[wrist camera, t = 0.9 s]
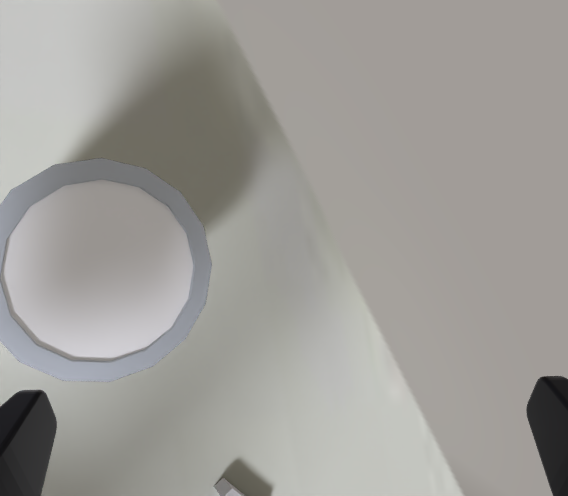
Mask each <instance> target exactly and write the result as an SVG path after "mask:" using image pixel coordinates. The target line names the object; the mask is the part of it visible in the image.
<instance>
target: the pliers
mask: <svg viewBox="0 0 568 496" xmlns="http://www.w3.org/2000/svg"><path fill="white" fill-rule="evenodd" d="M214 488H215V489H216V490H217V492H218V493H219V494H220V496H245V495H244V494H243V493H242V492H240V491H239V490H238V489H237V488H235V487H234V486H233V485H232V484H231V483H229V482H228V481H227V480H226V479H224V478H222V479H221V480H220V481H219V482H218V483H217V484H216V485H215V486H214Z"/></svg>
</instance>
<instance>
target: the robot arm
mask: <svg viewBox="0 0 568 496" xmlns="http://www.w3.org/2000/svg"><path fill="white" fill-rule="evenodd" d="M527 418H528V421H529V424H530V427H531V430H532V433H533V436H534V439H535V442H536V446H537V449H538V452H539V455H540V458H541V461H542V464H543V467H544V470H545V473H546V476H547V479H548V482H549V485H550V488H551V491H552V493H553V496H568V379H567V378H564V377H562V376H546V377H541V378H540V379H538V381H537V382H536V385H535V387H534V390H533V392H532V394H531V397H530V399H529V401H528V404H527ZM56 428H57V421H56V417H55V414H54V412H53V409H52V407H51V404H50V402H49V399H48V397H47V395H46V393H45V392H44V391H43V390H22V391H19V392H17V393H16V394H14V395H13V396H12V397H11V398H10V399H9V400H7V401H6V402H5V403H4V404H3V405H2V406H1V407H0V496H41V492H42V488H43V484H44V480H45V476H46V472H47V467H48V463H49V459H50V455H51V451H52V447H53V442H54V438H55V434H56Z"/></svg>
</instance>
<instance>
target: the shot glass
mask: <svg viewBox="0 0 568 496" xmlns="http://www.w3.org/2000/svg"><path fill="white" fill-rule="evenodd" d="M211 267H212V263H211V258H210V254H209V249H208V245H207V240H206V235H205V231H204V226H203V225H202V223H201V222H200V220H199V219H198V217H197V216H196V214H195V213H194V211H193V210H192V208H191V207H190V205H189V204H188V202H187V201H186V199H185V198H184V196H183V195H182V193H181V192H179V191H178V190H177V189H175V188H174V187H172V186H171V185H169V184H168V183H166V182H165V181H163V180H162V179H161V178H159V177H158V176H156V175H155V174H153V173H152V172H150V171H149V170H147V169H146V168H142V167H138V166H134V165H130V164H125V163H121V162H117V161H112V160H108V159H104V158H97V159H91V160H84V161H77V162H70V163H63V164H56V165H53V166H51V167H49V168H48V169H46V170H44V171H43V172H41V173H39V174H38V175H36V176H34V177H32V178H31V179H29V180H27V181H26V182H24V183H22V184H21V185H19V186H17V187H15V188H14V189H12V190H11V191H10V192H9V194H8V195H7V196H6V198H5V199H4V201H3V202H2V203H1V205H0V341H1V342H2V343H3V345H4V346H5V347H6V348H7V349H8V350H9V351H10V352H11V353H12V354H13V356H14V357H15V358H16V359H17V360H18V361H19V362H21V363H23V364H25V365H28V366H30V367H32V368H35V369H37V370H39V371H42V372H44V373H46V374H49V375H51V376H53V377H56V378H58V379H60V380H63V381H101V382H111V381H113V380H116V379H119V378H122V377H125V376H127V375H130V374H133V373H136V372H139V371H141V370H144V369H147V368H150V367H152V366H154V365H155V364H156V363H157V362H158V361H160V360H161V359H162V358H163V357H164V356H166V355H167V354H168V353H169V352H170V351H172V350H173V349H174V348H175V347H176V346H178V345H179V344H180V343H181V342H182V341H184V340H185V339H186V337H187V335H188V333H189V332H190V330H191V328H192V327H193V325H194V323H195V321H196V320H197V318H198V316H199V314H200V313H201V311H202V309H203V307H204V306H205V304H206V298H207V292H208V286H209V279H210V273H211Z"/></svg>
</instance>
